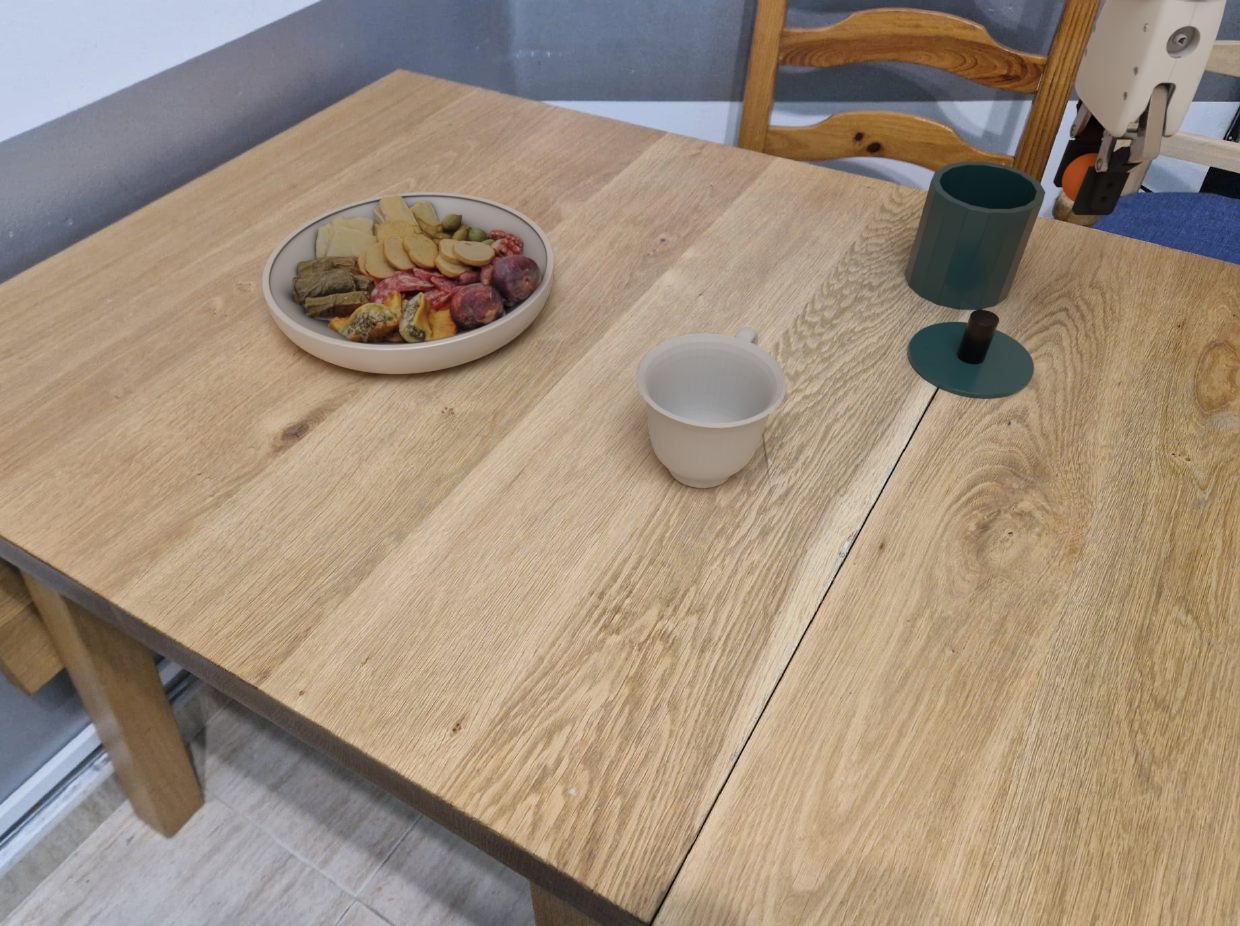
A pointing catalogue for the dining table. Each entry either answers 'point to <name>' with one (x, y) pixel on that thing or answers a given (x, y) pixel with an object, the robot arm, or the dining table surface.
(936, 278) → the teal hollow cylinder
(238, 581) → the dining table surface
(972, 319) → the canister lid
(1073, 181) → the ball
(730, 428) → the teacup
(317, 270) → the bowl
